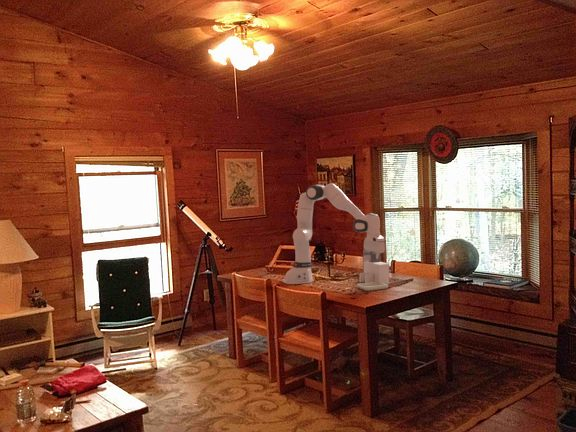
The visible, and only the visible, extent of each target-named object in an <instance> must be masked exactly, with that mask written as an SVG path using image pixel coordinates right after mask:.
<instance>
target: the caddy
mask: <svg viewBox="0 0 576 432" xmlns="http://www.w3.org/2000/svg"><path fill="white" fill-rule="evenodd" d="M375 256H376V252H373V253H368V255H364V262H366V261H369V262H371V263H375V262H380V253H379V256H378V259H375Z"/></svg>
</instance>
